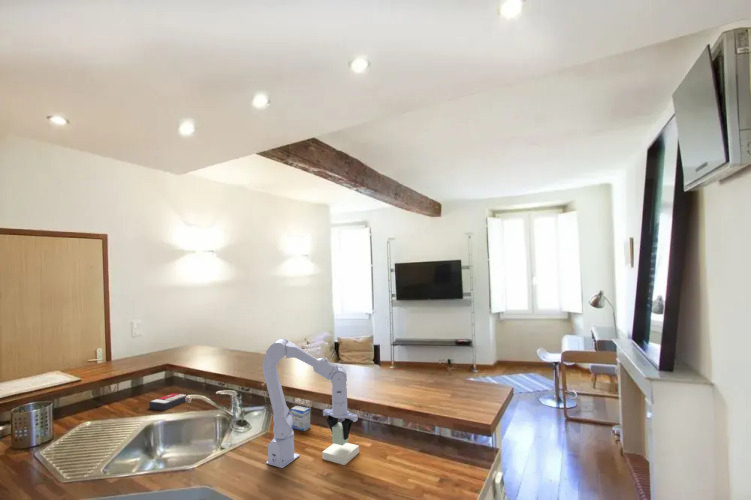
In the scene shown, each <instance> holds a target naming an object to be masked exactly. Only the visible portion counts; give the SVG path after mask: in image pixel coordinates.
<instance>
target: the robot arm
mask: <svg viewBox="0 0 751 500" xmlns="http://www.w3.org/2000/svg"><path fill="white" fill-rule="evenodd" d="M284 357H285V359H291V358H295V359H297V360H299V361H301V362H303V363H306V364H307V365H309V366H311V367H312V368H313V372H314V373H316V374H318V375H320V376H322V377H323V378H325V379H326V380H328V381H329V380H330V382H331V385H332V386H331V387H332V389H331V407H332V408H331V409H328V408H325V409H324V410H322V416H324V417H326V416H327V418H326V422H327V424H328V426H329V429H330V431H331V433H332V427H333V426H334V425H336V424H337V423H338V422H339V419H342V421H341V422H340V423H342V427H343V434H344V440H346V439H348V437H349V438H350V436H349V435H350V431H351V427H352V425H353V423H355V422H357V421H358V420H359V419H358V414H355V413H353V412H351V411H349V410H348V388H347V380H348V379H347V375H348V374H347V372H346V371H347V370H346V369H345V368H344V367H342V366H339V365H338V364H333V363H332V362H331V361H329V359H328V358H327V357H324V358H323V357H320V358H317V357H315V356H314V355H312V354H311V353H309V352H307V351H306V350H304V349H303V348H301V347H300V346H298V345H297V344H295V343H294V342H293V341H288V340H287V339H286V338H285V337H281V338H278V339H276V340H274V342H273V343H272V344H271V345H270V346H268V347H267V350H266V351H265V355H264V357H263V362H262V364H261V367H262V372H263V377H264V380H265V384H266V388H267V392H268V396H269V400H270V403H271V409H272V412H273V413H272V414H273V415H272V416H273V417H272V422H273V428H272V432H273V439H271V441H269V443H268V446H267V461H265V462H266V464H267V465H271V466H274V467H278V468H280V469H283V468H285V467H287V465H289V464H290V463H292V462H293V461H294V460H297V458H299V457H300V454H298V453H295V432H294V429H292V425H293V423H294V417H293V415H292V414H291V410H290V409H289V407H288V406H287V402H286V399H285V394H284V391H283V386H282V383H281V379H280V374H279V371H278V368H277V365H278V364H279V362H280V361H281V360H282V359H283V358H284Z"/></svg>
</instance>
